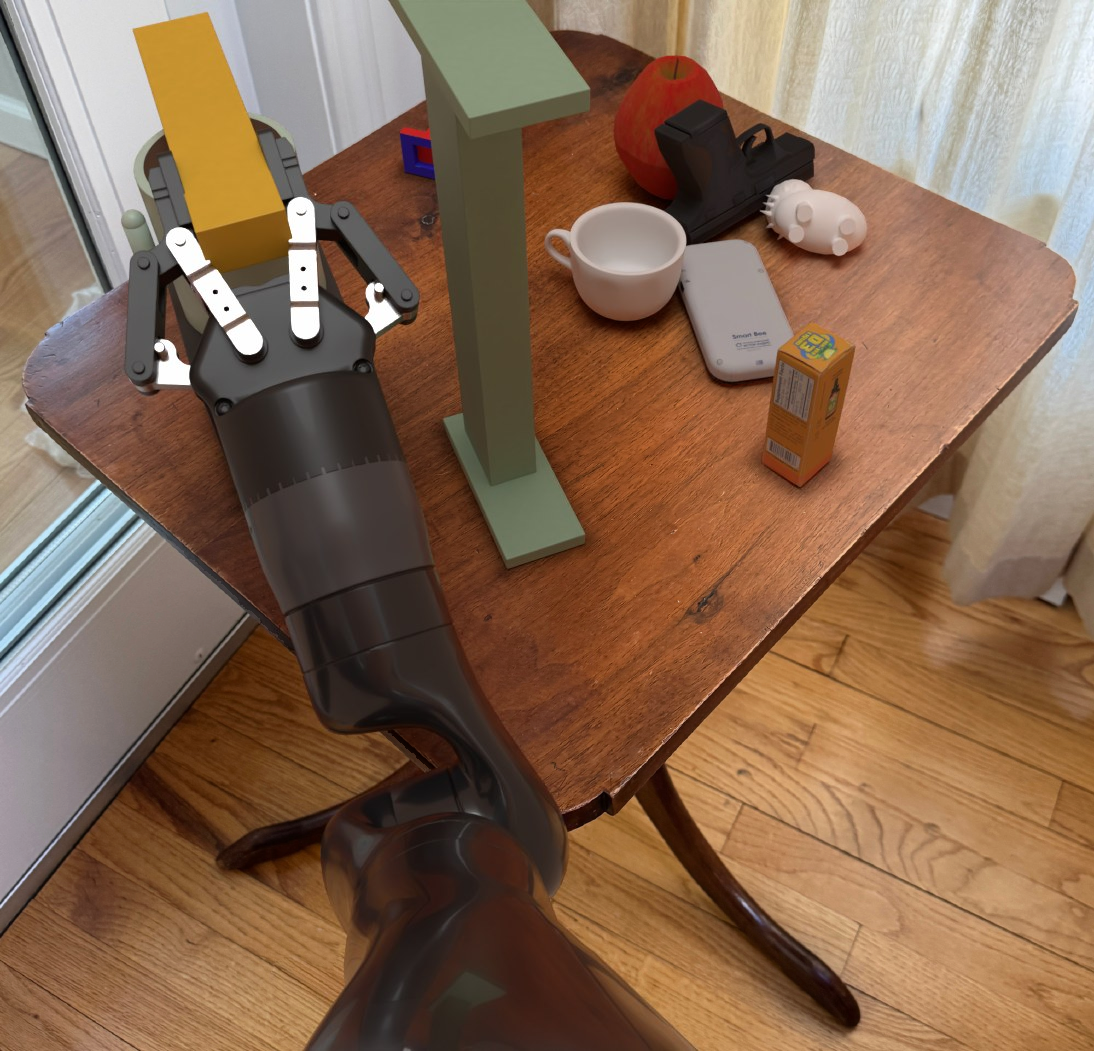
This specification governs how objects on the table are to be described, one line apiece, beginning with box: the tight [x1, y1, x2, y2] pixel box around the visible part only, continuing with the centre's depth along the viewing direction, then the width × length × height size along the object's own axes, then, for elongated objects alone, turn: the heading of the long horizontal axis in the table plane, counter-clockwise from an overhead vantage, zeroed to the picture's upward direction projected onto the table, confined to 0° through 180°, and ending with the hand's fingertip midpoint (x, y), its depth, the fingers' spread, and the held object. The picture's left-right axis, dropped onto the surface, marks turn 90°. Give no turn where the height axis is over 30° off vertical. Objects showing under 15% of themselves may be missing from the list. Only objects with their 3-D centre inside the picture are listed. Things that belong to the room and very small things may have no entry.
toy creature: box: [760, 179, 868, 257], centre depth 83 cm, size 5×8×6 cm
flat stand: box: [387, 0, 591, 570], centre depth 59 cm, size 5×12×30 cm, turn 21°
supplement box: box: [761, 322, 856, 488], centre depth 67 cm, size 3×3×10 cm
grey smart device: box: [677, 239, 795, 385], centre depth 78 cm, size 6×13×2 cm, turn 10°
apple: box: [612, 54, 725, 201], centre depth 84 cm, size 8×8×11 cm
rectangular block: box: [132, 11, 293, 274], centre depth 56 cm, size 4×18×2 cm, turn 21°
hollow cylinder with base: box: [120, 111, 345, 488], centre depth 65 cm, size 10×9×21 cm
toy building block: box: [399, 125, 435, 180], centre depth 89 cm, size 4×4×8 cm
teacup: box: [543, 201, 686, 322], centre depth 79 cm, size 10×8×5 cm
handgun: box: [654, 99, 816, 246], centre depth 82 cm, size 3×14×10 cm, turn 128°
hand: (215, 149), depth 53 cm, fingers closed on rectangular block, 4 cm apart
